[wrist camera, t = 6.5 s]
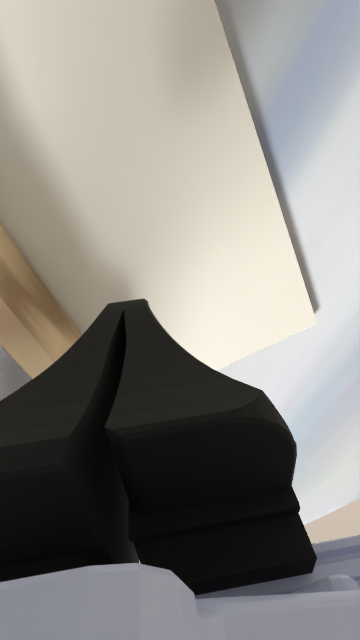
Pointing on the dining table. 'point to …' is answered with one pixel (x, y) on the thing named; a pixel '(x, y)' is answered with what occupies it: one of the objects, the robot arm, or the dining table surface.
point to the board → (143, 173)
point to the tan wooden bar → (30, 313)
